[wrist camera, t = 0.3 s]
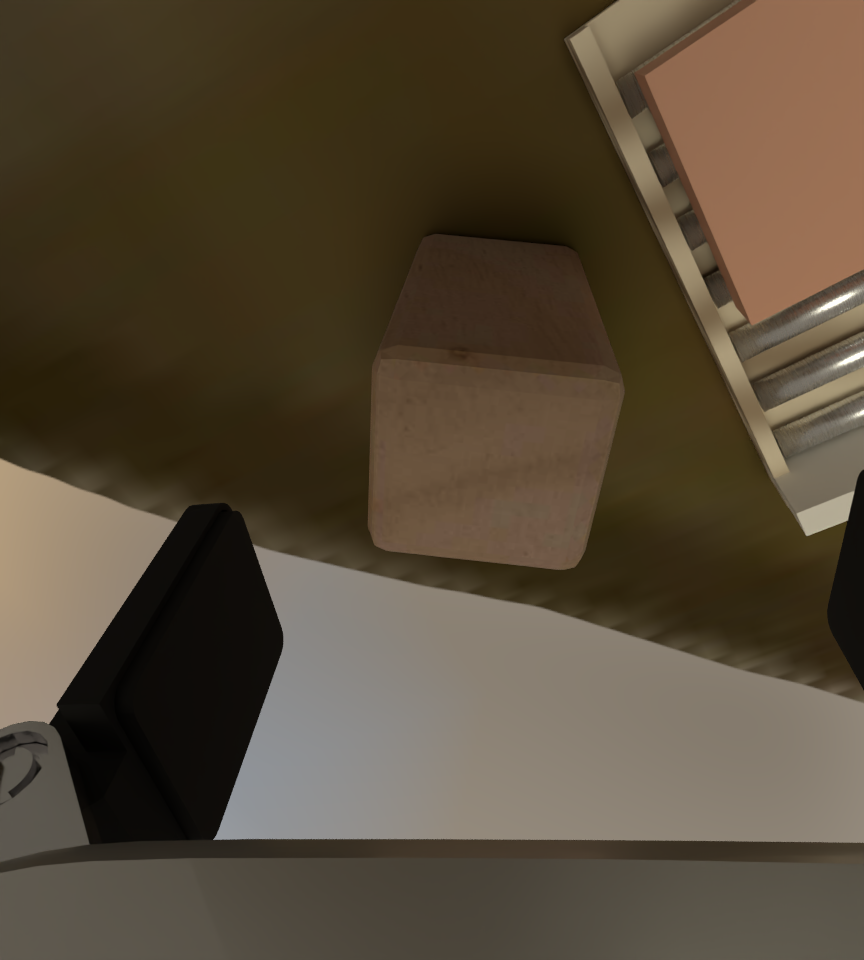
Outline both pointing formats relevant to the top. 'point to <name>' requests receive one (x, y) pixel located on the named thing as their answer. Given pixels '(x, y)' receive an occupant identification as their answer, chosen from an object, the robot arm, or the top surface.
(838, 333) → the roller bed
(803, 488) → the end stop
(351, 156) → the top surface
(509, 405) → the wooden block
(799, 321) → the rollers
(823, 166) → the slab
